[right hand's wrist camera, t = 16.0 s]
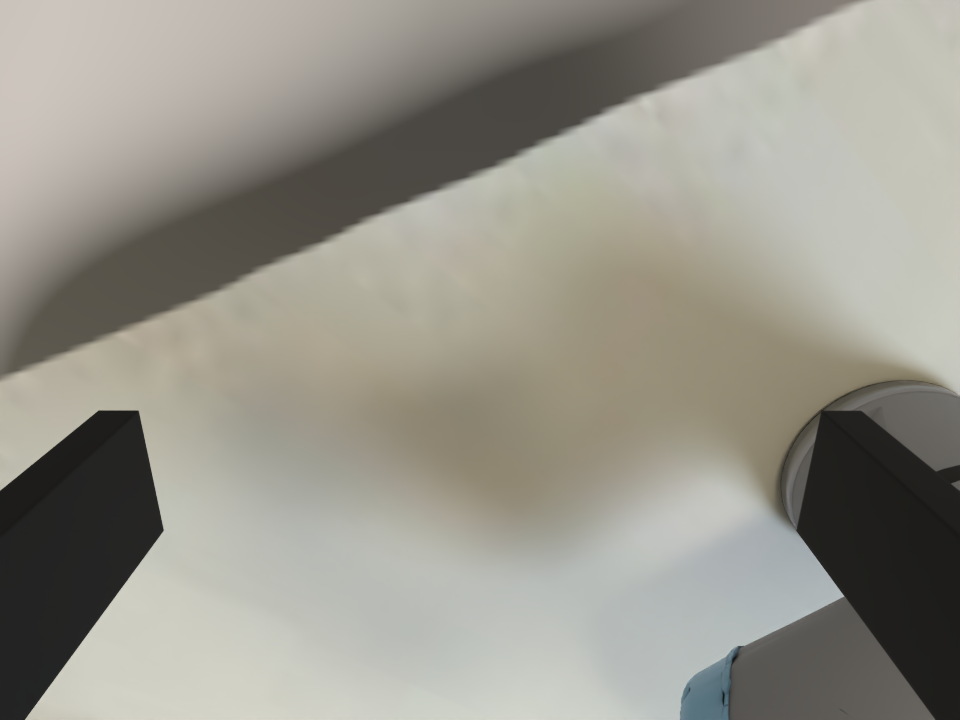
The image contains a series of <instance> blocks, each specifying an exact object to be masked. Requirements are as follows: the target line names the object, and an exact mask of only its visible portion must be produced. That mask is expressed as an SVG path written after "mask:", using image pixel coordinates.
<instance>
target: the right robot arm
mask: <svg viewBox="0 0 960 720" xmlns="http://www.w3.org/2000/svg"><path fill="white" fill-rule="evenodd" d="M781 494H782V500H783V504H784V507H785V510H786V512H787V515H788V517H789V518H790V520H791V522H792V523H793V525H794V526H795V527H796V531H797V532H798V534H799V535H800V536H801V538H802V539H803V540H804V542H805V543H806V544H807V546H808V547H809V549H810V550H811V551H812V553H813V554H814V555H815V557H816V558H817V559H818V561H819V562H820V563H821V565H822V566H823V568H824V569H825V570H826V572H827V573H828V574H829V576H830V577H831V578H832V580H833V581H834V583H835V584H836V585H837V587H838V588H839V589H840V591H841V592H842V593H843V595H844V596H845V597H843V598H841V599H839V600H837V601H835V602H833V603H831V604H829V605H827V606H825V607H823V608H821V609H819V610H817V611H815V612H813V613H811V614H809V615H807V616H805V617H803V618H802V619H800V620H797V621H795V622H793V623H791V624H789V625H787V626H785V627H783V628H781V629H779V630H777V631H775V632H773V633H771V634H769V635H767V636H764V637H762V638H760V639H758V640H756V641H754V642H752V643H750V644H748V645H746V646H738V647H735V648H734V649H733V650H731V652H730V653H729V654H728V655H727V657H725V658H723V659H722V660H720V661H718V662H717V663H715V664H713V665H711V666H710V667H708V668H706V669H704V670H703V671H701V672H699V673H697V674H696V675H695V676H693V677H692V678H691V679H690V680H689V682H688V683H687V685H686V687H685V689H684V692H683V696H682V699H681V711H680V720H960V396H959V395H957V394H955V393H953V392H952V391H950V390H948V389H946V388H943V387H941V386H938V385H935V384H931V383H926V382H921V381H891V382H885V383H879V384H876V385H872V386H868V387H865V388H862V389H860V390H857V391H855V392H853V393H850V394H848V395H846V396H844V397H843V398H841V399H839V400H837V401H836V402H834V403H833V404H831V405H830V406H828V407H827V408H826V409H824V410H823V411H821V412H820V413H819V414H818V415H817V416H816V417H815V418H814V419H813V420H812V421H811V422H810V423H809V424H808V425H807V426H806V427H805V428H804V430H803V431H802V432H801V433H800V435H799V436H798V438H797V439H796V441H795V442H794V444H793V446H792V448H791V450H790V451H789V454H788V456H787V459H786V462H785V465H784V468H783V473H782V481H781ZM163 531H164V529H163V525H162V520H161V515H160V510H159V506H158V501H157V496H156V491H155V487H154V482H153V477H152V472H151V467H150V463H149V458H148V453H147V448H146V444H145V439H144V434H143V429H142V425H141V420H140V415H139V411H98V412H96V413H95V414H94V415H93V416H92V417H90V418H89V419H88V420H87V421H85V422H84V423H83V424H82V425H80V426H79V427H78V428H77V429H76V430H74V431H73V432H72V433H71V434H69V435H68V436H67V437H66V438H64V439H63V440H62V441H61V442H60V443H58V444H57V445H56V446H55V447H53V448H52V449H51V450H50V451H49V452H47V453H46V454H45V455H44V456H42V457H41V458H40V459H39V460H37V461H36V462H35V463H34V464H33V465H31V466H30V467H29V468H28V469H26V470H25V471H24V472H23V473H22V474H20V475H19V476H18V477H17V478H15V479H14V480H13V481H12V482H10V483H9V484H8V485H7V486H6V487H4V488H3V489H2V490H1V491H0V720H25V719H26V717H27V716H28V715H29V713H30V712H31V710H32V709H33V708H34V706H35V705H36V704H37V702H38V701H39V700H40V698H41V697H42V696H43V694H44V693H45V691H46V690H47V689H48V687H49V686H50V685H51V683H52V682H53V681H54V679H55V678H56V676H57V675H58V674H59V672H60V671H61V670H62V668H63V667H64V666H65V664H66V663H67V661H68V660H69V659H70V657H71V656H72V655H73V653H74V652H75V651H76V649H77V648H78V647H79V645H80V644H81V642H82V641H83V640H84V638H85V637H86V636H87V634H88V633H89V632H90V630H91V629H92V627H93V626H94V625H95V623H96V622H97V621H98V619H99V618H100V617H101V615H102V614H103V612H104V611H105V610H106V608H107V607H108V606H109V604H110V603H111V602H112V600H113V599H114V598H115V596H116V595H117V593H118V592H119V591H120V589H121V588H122V587H123V585H124V584H125V583H126V581H127V580H128V578H129V577H130V576H131V574H132V573H133V572H134V570H135V569H136V568H137V566H138V565H139V563H140V562H141V561H142V559H143V558H144V557H145V555H146V554H147V553H148V551H149V550H150V549H151V547H152V546H153V544H154V543H155V542H156V540H157V539H158V538H159V536H160V535H161V534H162V532H163Z"/></svg>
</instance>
